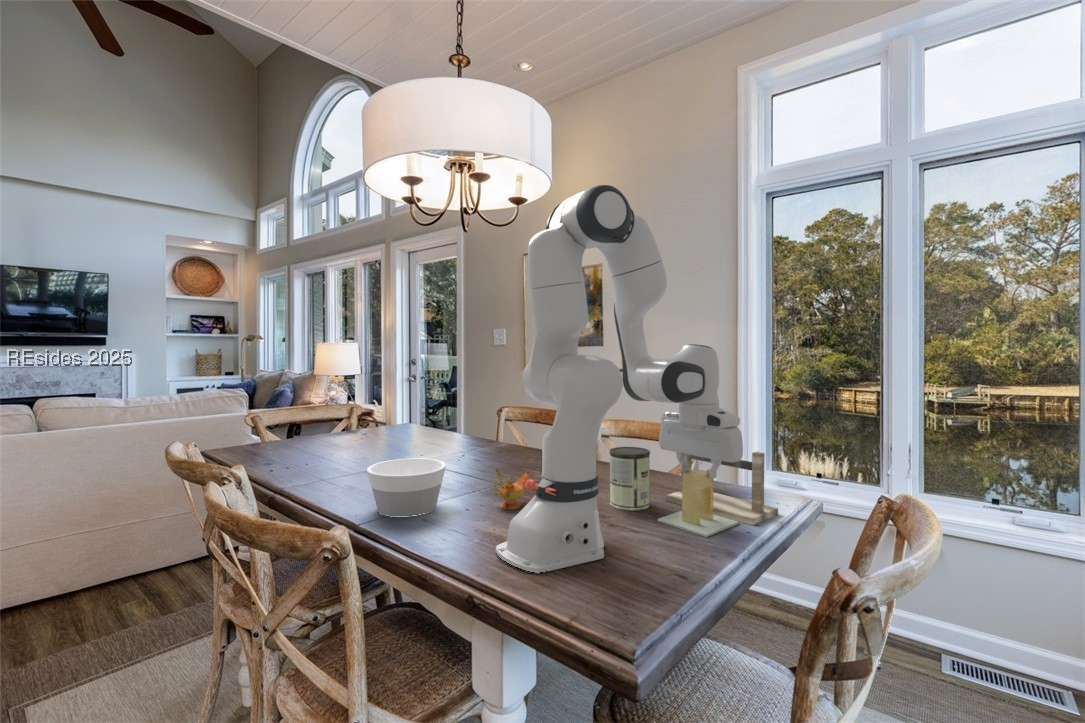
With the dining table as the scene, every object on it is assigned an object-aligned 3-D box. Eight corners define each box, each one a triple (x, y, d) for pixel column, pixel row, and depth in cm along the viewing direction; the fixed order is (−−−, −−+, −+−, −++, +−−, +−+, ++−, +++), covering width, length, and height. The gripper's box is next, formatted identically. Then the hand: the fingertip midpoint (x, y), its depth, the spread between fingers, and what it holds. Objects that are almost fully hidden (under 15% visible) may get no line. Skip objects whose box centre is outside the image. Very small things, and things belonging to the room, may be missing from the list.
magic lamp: (542, 497, 136) (542, 456, 136) (506, 516, 120) (506, 470, 120) (520, 493, 139) (520, 454, 139) (483, 511, 123) (483, 467, 123)
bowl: (385, 527, 113) (384, 480, 112) (355, 507, 127) (355, 465, 127) (460, 510, 125) (460, 467, 125) (425, 493, 140) (424, 454, 139)
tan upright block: (697, 525, 112) (697, 476, 112) (682, 520, 116) (682, 473, 115) (713, 519, 116) (713, 472, 116) (698, 515, 120) (698, 469, 119)
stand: (752, 525, 114) (753, 457, 114) (666, 500, 133) (666, 442, 132) (778, 514, 122) (778, 450, 121) (692, 492, 140) (693, 437, 140)
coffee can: (615, 496, 136) (616, 445, 136) (653, 501, 132) (654, 448, 132) (604, 507, 127) (604, 452, 127) (644, 513, 123) (644, 455, 122)
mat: (706, 537, 107) (706, 534, 107) (657, 521, 117) (657, 518, 117) (739, 523, 115) (739, 521, 115) (690, 509, 125) (690, 507, 125)
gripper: (653, 411, 121) (653, 468, 122) (731, 421, 106) (730, 486, 106) (669, 409, 125) (669, 464, 126) (747, 418, 110) (746, 481, 110)
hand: (698, 474), depth 116 cm, fingers open, 5 cm apart
